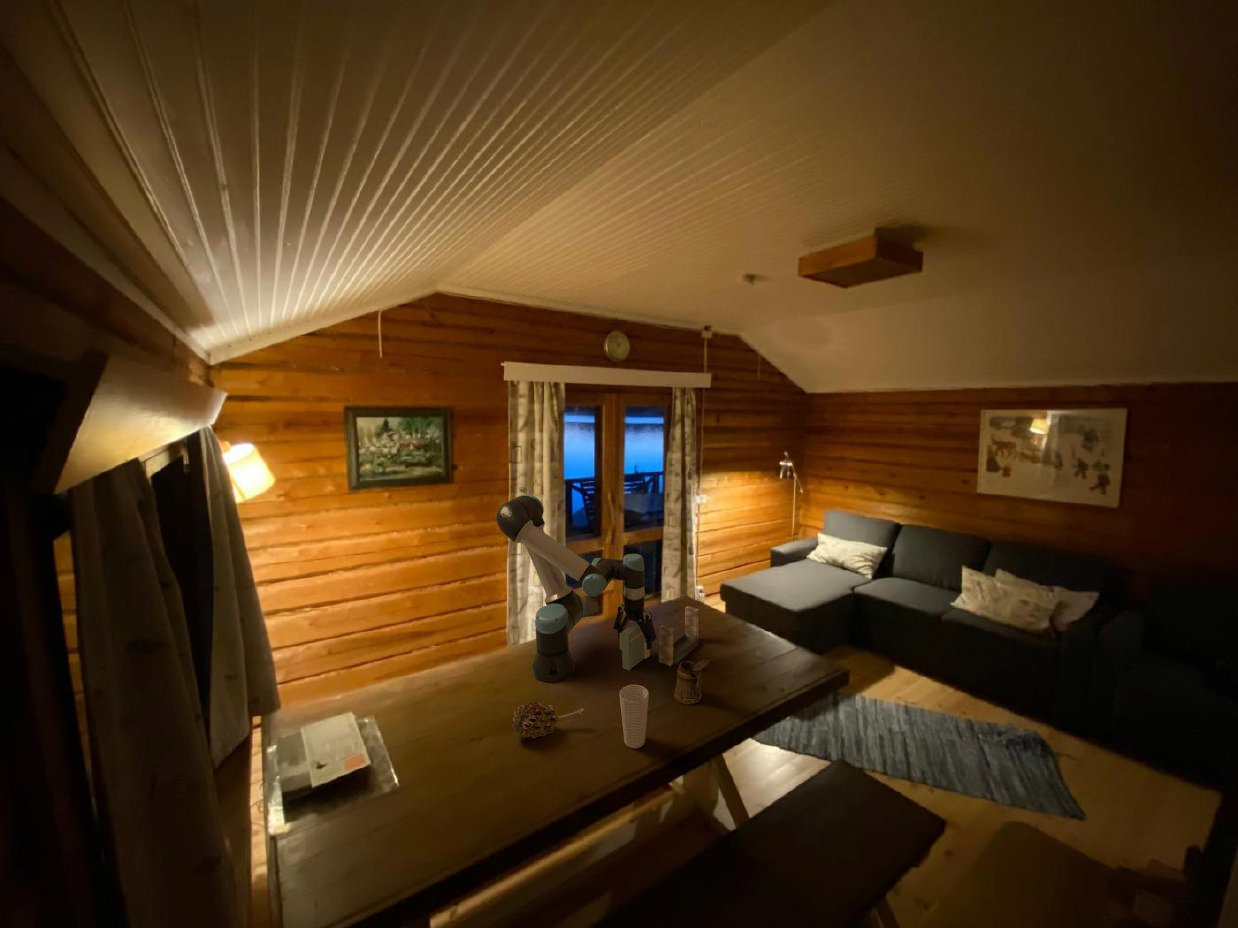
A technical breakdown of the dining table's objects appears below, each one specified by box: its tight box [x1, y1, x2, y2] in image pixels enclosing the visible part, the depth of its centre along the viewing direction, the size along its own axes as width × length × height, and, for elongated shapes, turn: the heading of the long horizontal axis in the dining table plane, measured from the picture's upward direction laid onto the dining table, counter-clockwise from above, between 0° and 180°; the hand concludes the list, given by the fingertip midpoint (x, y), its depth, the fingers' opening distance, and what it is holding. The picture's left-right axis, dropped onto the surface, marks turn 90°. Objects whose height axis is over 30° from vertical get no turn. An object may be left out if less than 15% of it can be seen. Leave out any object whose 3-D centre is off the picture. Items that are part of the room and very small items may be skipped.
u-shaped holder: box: [658, 606, 700, 667], centre depth 198 cm, size 8×22×14 cm, turn 144°
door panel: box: [621, 620, 646, 671], centre depth 191 cm, size 3×12×14 cm, turn 144°
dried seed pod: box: [512, 701, 585, 739], centre depth 153 cm, size 22×10×10 cm, turn 109°
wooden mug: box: [673, 657, 710, 705], centre depth 167 cm, size 9×14×18 cm, turn 30°
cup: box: [619, 683, 650, 749], centre depth 148 cm, size 8×8×16 cm
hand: (634, 652), depth 191 cm, fingers open, 10 cm apart
